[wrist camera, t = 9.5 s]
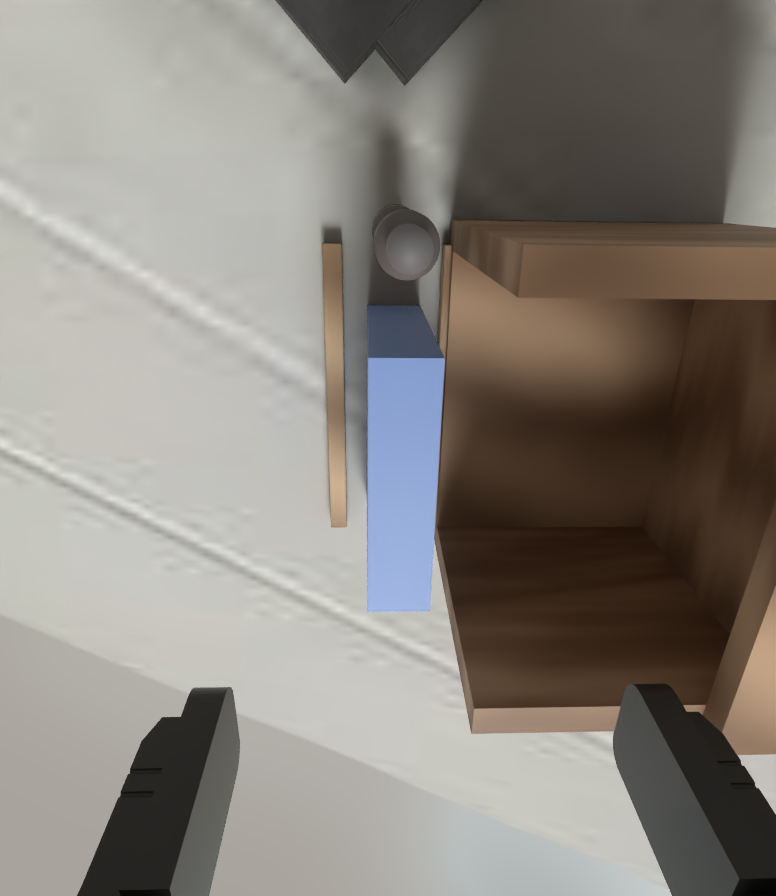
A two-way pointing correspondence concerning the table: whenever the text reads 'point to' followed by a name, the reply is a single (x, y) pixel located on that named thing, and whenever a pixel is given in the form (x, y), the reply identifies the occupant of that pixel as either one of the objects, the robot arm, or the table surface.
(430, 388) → the blue rectangular block
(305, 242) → the table surface
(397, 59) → the abstract sculpture
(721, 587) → the cabinet
